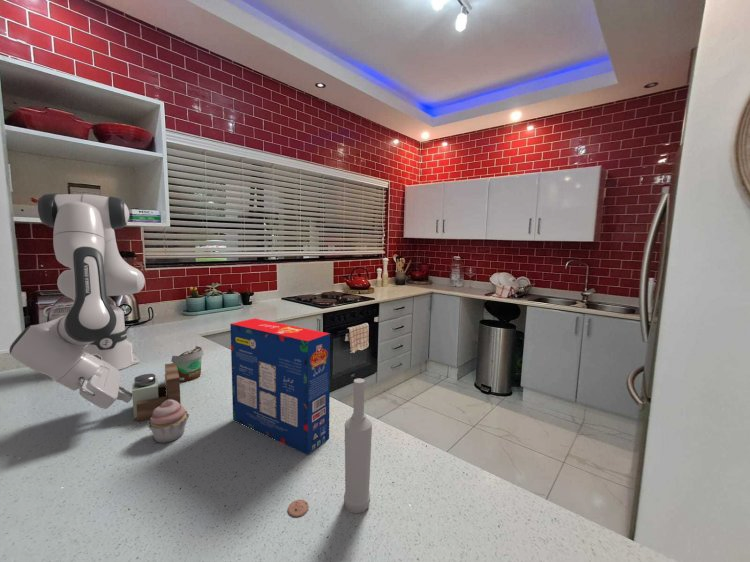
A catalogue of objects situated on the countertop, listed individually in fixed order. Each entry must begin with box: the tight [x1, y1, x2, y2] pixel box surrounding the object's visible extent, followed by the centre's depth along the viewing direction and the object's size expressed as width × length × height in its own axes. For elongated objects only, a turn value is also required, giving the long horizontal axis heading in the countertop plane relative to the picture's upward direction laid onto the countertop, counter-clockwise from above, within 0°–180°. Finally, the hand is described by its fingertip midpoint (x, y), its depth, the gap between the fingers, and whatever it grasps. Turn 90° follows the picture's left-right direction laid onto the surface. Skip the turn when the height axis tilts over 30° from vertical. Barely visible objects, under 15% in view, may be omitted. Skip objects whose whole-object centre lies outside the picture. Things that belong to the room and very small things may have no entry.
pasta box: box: [230, 317, 331, 456], centre depth 88 cm, size 28×8×28 cm, turn 59°
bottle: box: [343, 377, 373, 514], centre depth 63 cm, size 5×5×25 cm
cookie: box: [287, 499, 310, 518], centre depth 63 cm, size 4×4×1 cm
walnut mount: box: [133, 362, 182, 423], centre depth 98 cm, size 14×11×11 cm
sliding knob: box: [131, 373, 159, 419], centre depth 96 cm, size 7×6×10 cm
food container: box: [171, 345, 205, 383], centre depth 121 cm, size 12×6×10 cm, turn 168°
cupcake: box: [146, 399, 190, 444], centre depth 84 cm, size 9×9×10 cm
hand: (130, 398), depth 94 cm, fingers closed, pressing on sliding knob
